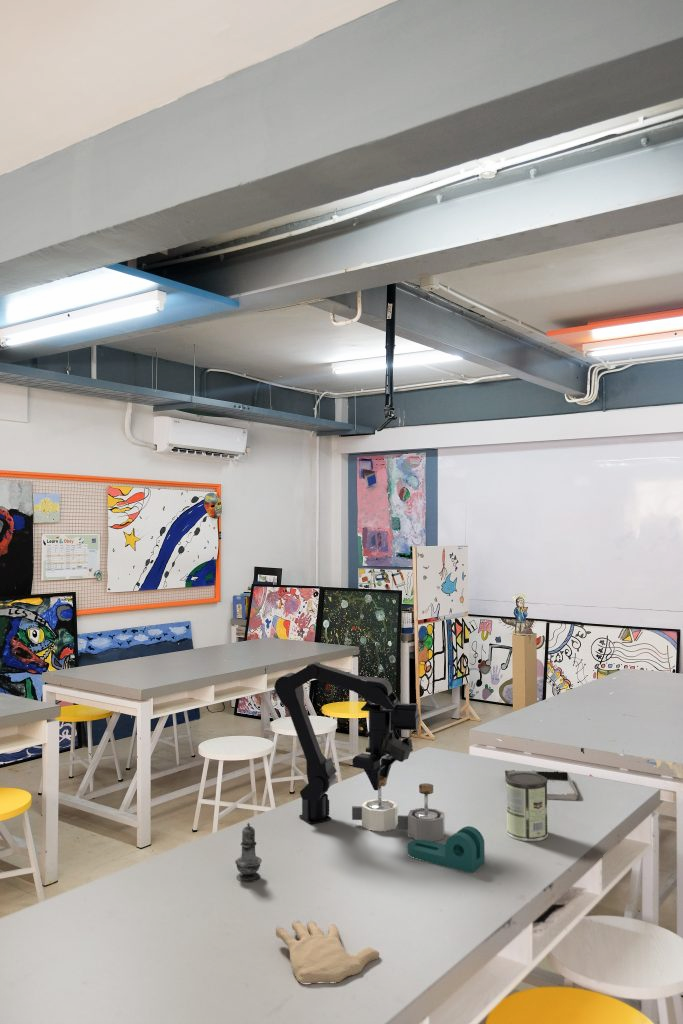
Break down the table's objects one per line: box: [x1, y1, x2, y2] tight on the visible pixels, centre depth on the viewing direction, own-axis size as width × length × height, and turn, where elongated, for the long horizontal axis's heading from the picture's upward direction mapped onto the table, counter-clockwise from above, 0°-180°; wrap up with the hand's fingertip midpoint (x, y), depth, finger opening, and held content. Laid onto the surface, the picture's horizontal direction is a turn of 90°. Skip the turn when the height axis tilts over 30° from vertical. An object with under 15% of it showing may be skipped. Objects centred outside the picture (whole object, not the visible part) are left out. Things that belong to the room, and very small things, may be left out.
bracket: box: [406, 825, 486, 874], centre depth 194 cm, size 18×7×8 cm, turn 56°
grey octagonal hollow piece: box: [397, 807, 446, 842], centre depth 208 cm, size 11×9×5 cm
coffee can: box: [505, 773, 549, 842], centre depth 209 cm, size 10×10×14 cm
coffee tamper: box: [415, 782, 437, 820], centre depth 209 cm, size 6×6×8 cm
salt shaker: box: [234, 822, 263, 883], centre depth 184 cm, size 6×6×12 cm
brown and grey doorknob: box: [369, 776, 390, 810], centre depth 216 cm, size 6×6×8 cm
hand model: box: [275, 918, 380, 984], centre depth 150 cm, size 19×5×20 cm
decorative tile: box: [504, 769, 579, 801], centre depth 246 cm, size 20×3×20 cm
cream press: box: [351, 798, 399, 832], centre depth 215 cm, size 11×9×5 cm
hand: (379, 788), depth 216 cm, fingers closed on brown and grey doorknob, 4 cm apart
